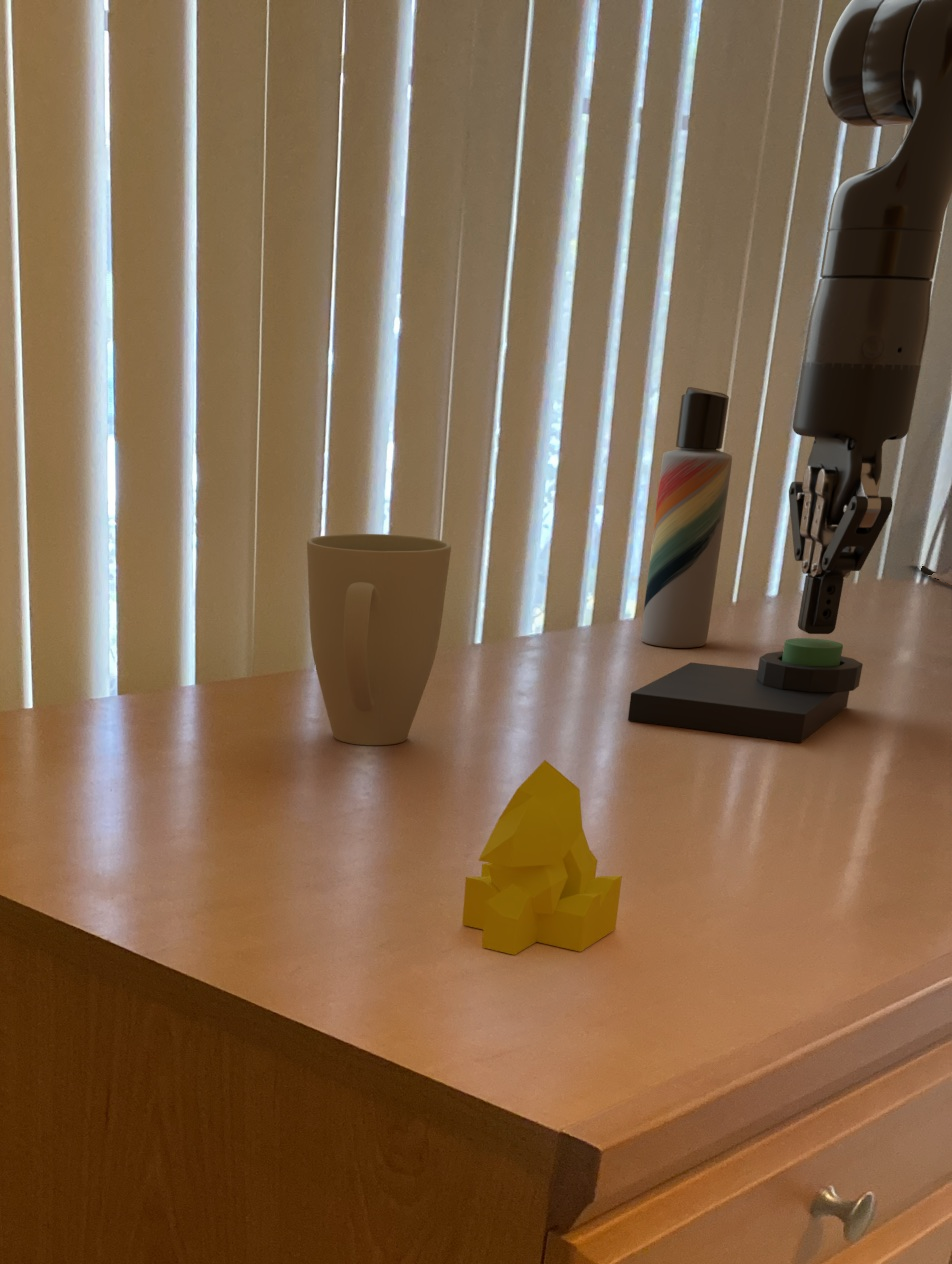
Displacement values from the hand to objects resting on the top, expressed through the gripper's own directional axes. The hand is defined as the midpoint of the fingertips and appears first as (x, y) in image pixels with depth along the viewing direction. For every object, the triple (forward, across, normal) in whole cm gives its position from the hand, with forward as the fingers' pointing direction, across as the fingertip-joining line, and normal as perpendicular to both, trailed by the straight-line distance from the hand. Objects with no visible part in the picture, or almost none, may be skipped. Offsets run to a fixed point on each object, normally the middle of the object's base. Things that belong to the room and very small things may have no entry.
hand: (815, 631), depth 115 cm
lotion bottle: (+6, +28, +1) cm, 28 cm away
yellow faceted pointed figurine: (+6, -47, +30) cm, 56 cm away
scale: (+6, -1, +5) cm, 8 cm away
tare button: (+2, 0, 0) cm, 2 cm away
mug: (+6, -10, +33) cm, 35 cm away
